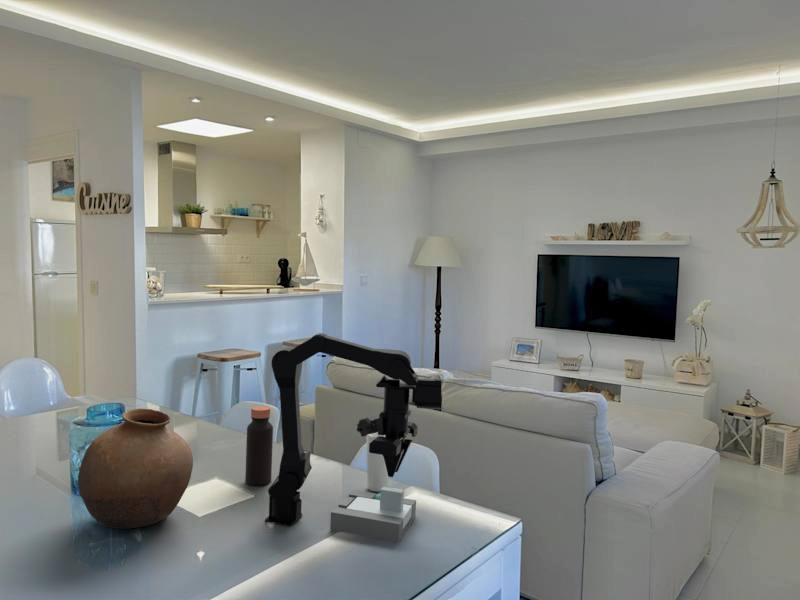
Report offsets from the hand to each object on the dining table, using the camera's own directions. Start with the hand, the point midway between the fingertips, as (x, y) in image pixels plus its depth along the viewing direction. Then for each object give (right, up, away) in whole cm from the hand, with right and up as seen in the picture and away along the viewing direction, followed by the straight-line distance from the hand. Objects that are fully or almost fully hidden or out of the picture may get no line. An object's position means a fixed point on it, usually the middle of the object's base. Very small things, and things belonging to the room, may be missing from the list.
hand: (392, 474), depth 135 cm
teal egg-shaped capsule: (-3, -10, +7) cm, 13 cm away
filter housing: (-4, -12, +2) cm, 13 cm away
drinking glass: (-5, -11, +23) cm, 25 cm away
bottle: (-36, -9, +24) cm, 44 cm away
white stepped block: (-3, -11, +1) cm, 11 cm away
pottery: (-57, -10, -4) cm, 58 cm away
